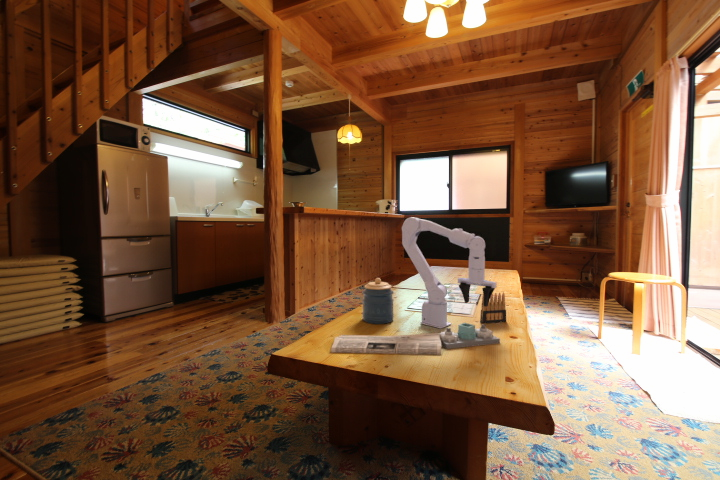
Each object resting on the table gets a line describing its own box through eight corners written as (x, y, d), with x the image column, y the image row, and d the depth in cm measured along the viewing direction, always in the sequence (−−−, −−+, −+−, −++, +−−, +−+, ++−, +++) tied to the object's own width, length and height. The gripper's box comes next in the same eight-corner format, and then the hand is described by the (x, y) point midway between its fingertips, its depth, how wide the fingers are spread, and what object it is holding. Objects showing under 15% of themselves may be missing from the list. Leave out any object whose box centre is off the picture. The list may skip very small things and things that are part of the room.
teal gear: (454, 336, 111) (454, 325, 111) (462, 332, 115) (463, 321, 115) (470, 341, 107) (470, 329, 107) (479, 336, 111) (479, 325, 111)
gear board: (446, 348, 104) (446, 333, 104) (433, 339, 113) (433, 325, 113) (499, 343, 109) (499, 328, 109) (483, 334, 118) (483, 320, 118)
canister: (390, 325, 128) (390, 281, 127) (358, 323, 132) (358, 279, 131) (396, 316, 141) (396, 276, 140) (367, 314, 144) (366, 274, 144)
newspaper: (331, 354, 102) (330, 342, 102) (336, 339, 114) (336, 329, 114) (445, 356, 100) (445, 344, 100) (438, 341, 112) (438, 331, 112)
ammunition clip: (503, 320, 135) (504, 291, 134) (506, 321, 133) (507, 292, 132) (480, 322, 133) (480, 293, 132) (482, 323, 131) (483, 293, 130)
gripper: (500, 269, 121) (499, 305, 121) (464, 265, 131) (463, 299, 132) (491, 271, 116) (491, 309, 117) (455, 267, 126) (454, 302, 127)
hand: (476, 304), depth 124 cm, fingers open, 7 cm apart
